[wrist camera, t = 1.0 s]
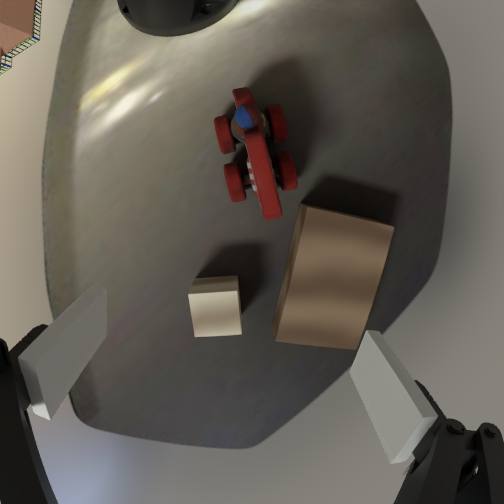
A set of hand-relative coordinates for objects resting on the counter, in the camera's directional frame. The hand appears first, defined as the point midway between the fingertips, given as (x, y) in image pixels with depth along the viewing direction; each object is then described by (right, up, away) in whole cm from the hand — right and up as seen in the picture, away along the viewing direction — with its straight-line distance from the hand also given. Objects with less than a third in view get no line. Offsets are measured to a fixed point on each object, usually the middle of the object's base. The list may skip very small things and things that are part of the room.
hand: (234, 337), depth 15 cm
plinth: (+10, +1, +22) cm, 24 cm away
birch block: (-3, -1, +22) cm, 22 cm away
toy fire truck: (+1, +15, +18) cm, 24 cm away
